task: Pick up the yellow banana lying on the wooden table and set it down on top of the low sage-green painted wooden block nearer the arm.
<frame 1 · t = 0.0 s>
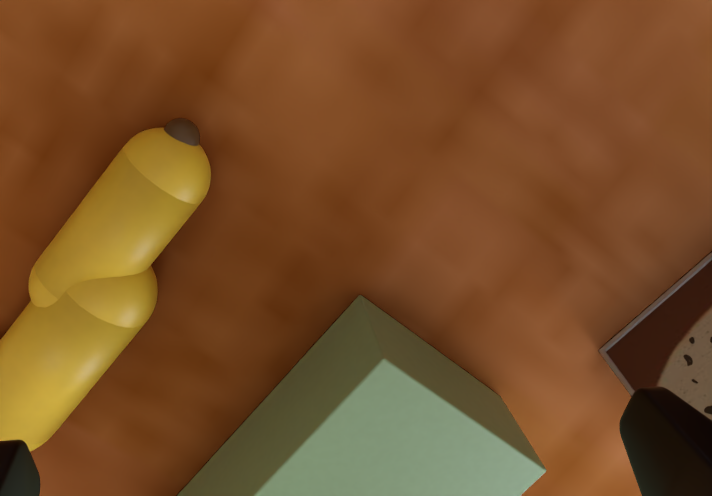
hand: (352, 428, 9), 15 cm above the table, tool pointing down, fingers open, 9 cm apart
green block: (319, 467, 29), on the table
food container: (705, 319, 30), on the table
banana: (66, 323, 24), on the table, tilted 7°
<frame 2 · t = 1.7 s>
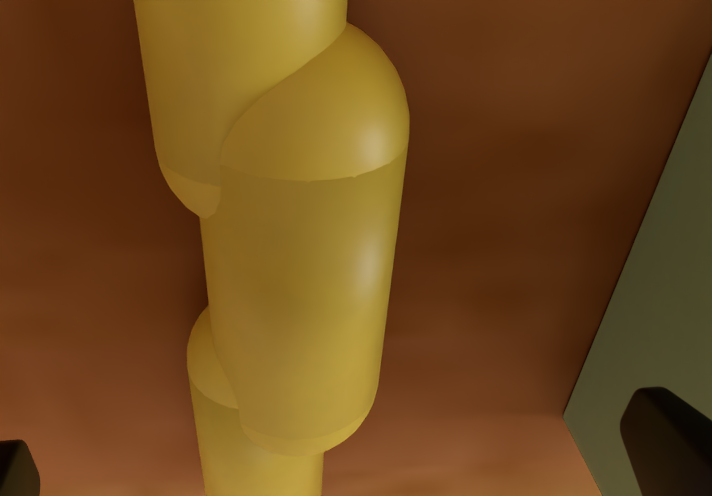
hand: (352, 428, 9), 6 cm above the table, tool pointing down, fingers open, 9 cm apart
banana: (293, 214, 14), on the table, tilted 13°
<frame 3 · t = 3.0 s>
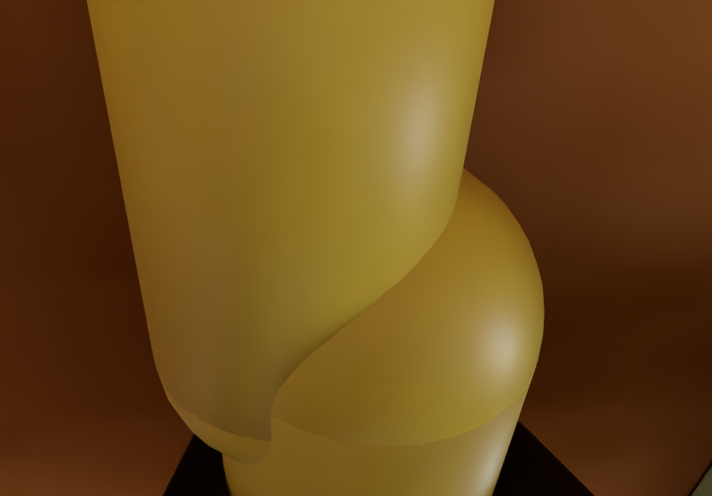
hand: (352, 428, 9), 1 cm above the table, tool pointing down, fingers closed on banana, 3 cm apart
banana: (331, 370, 10), on the table, tilted 8°, touching gripper
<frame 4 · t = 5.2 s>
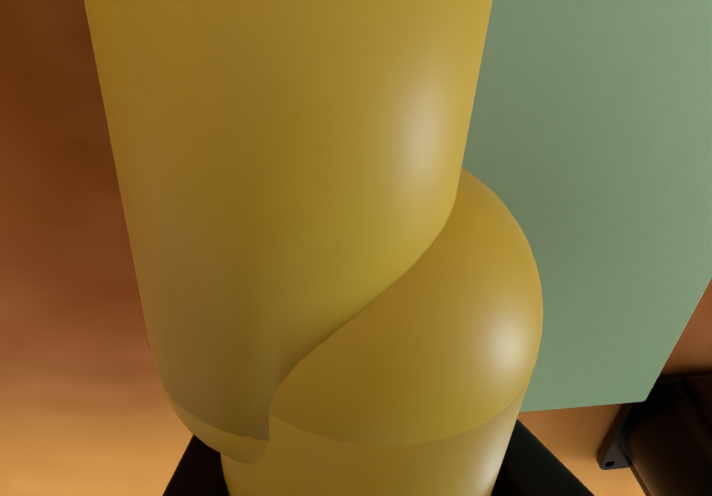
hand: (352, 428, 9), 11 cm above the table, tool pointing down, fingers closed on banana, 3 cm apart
green block: (516, 109, 19), on the table
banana: (330, 369, 10), point 10 cm above the table, tilted 9°, touching gripper
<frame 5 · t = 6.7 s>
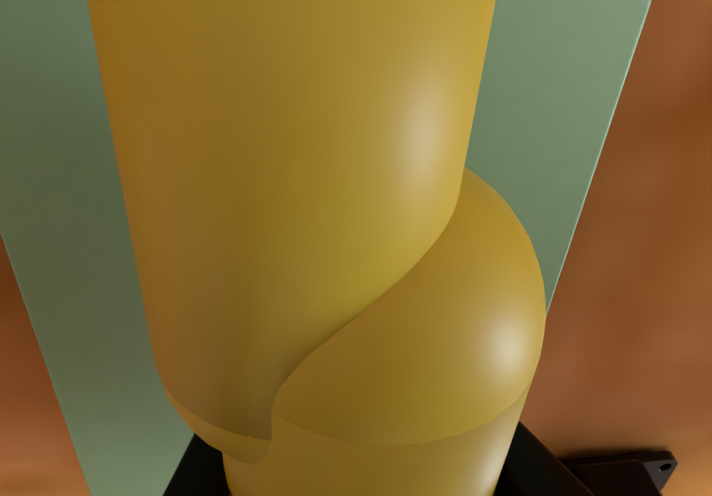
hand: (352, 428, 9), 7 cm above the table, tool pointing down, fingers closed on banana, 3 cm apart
green block: (290, 177, 15), on the table
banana: (332, 369, 10), point 6 cm above the table, tilted 8°, touching gripper
when the fingers open (6 cm above the table, at t = 7.4 s): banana stays where it is, resting on green block.
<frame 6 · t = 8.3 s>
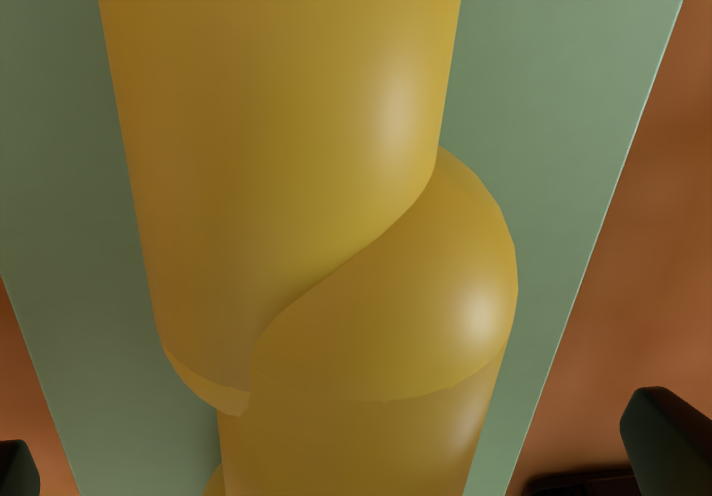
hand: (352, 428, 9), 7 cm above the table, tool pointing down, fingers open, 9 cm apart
green block: (295, 192, 14), on the table, touching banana
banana: (332, 347, 11), point 5 cm above the table, tilted 13°, touching green block
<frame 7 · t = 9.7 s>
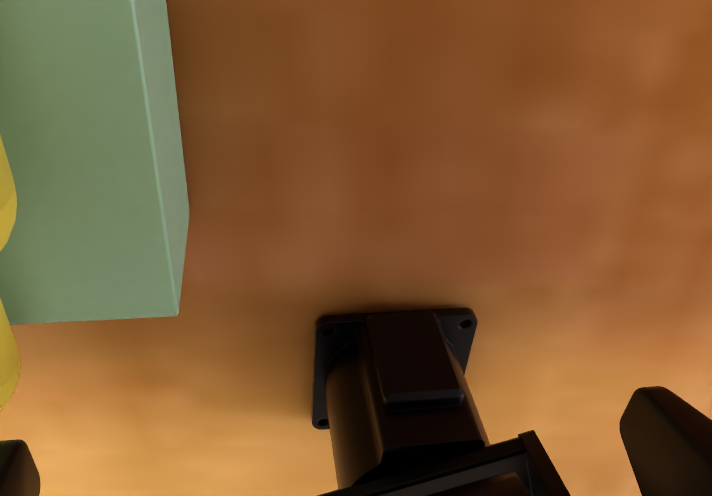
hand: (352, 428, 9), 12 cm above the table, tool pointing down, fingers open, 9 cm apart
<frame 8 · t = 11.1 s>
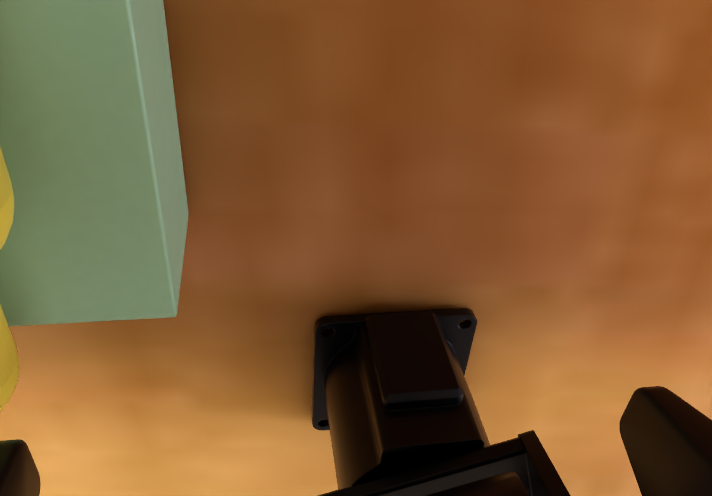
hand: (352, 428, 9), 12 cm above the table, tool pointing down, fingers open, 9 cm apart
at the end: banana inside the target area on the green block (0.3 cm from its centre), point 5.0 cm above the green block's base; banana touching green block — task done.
